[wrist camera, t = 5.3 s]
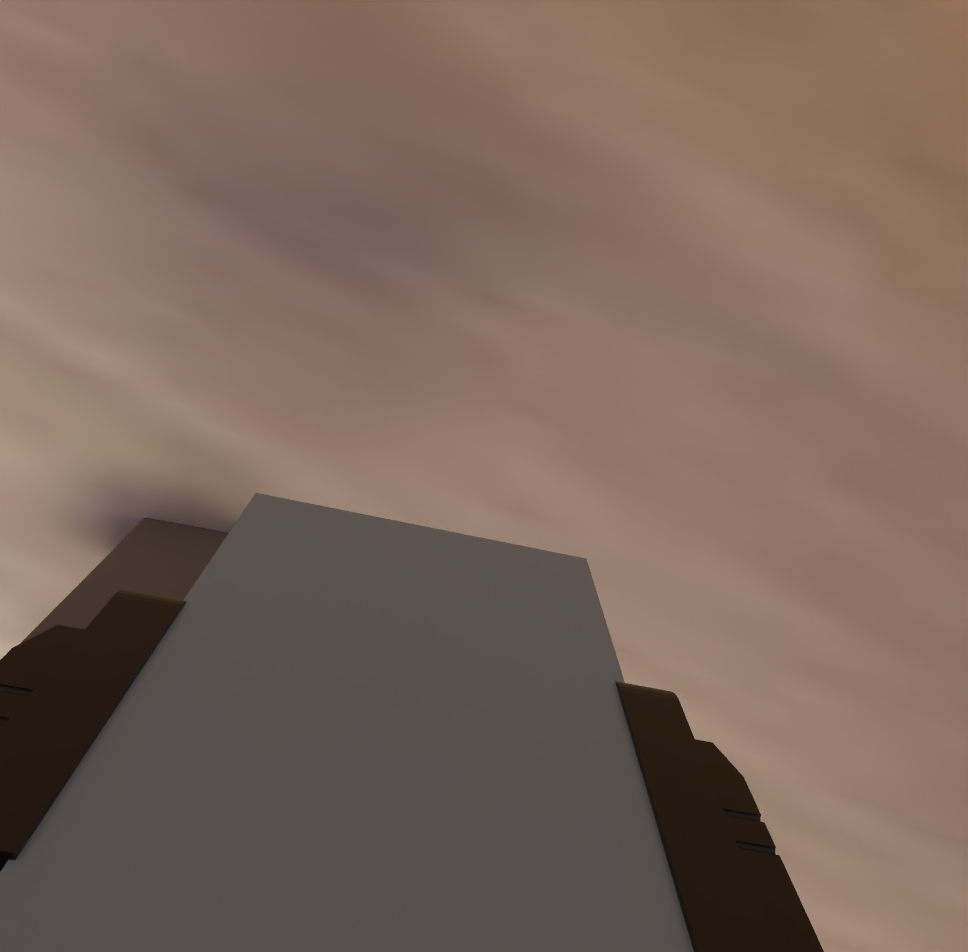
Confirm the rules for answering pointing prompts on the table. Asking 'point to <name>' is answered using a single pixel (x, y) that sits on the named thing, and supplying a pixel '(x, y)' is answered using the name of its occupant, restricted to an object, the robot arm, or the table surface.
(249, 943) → the domino
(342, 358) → the table surface
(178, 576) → the domino
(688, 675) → the table surface
